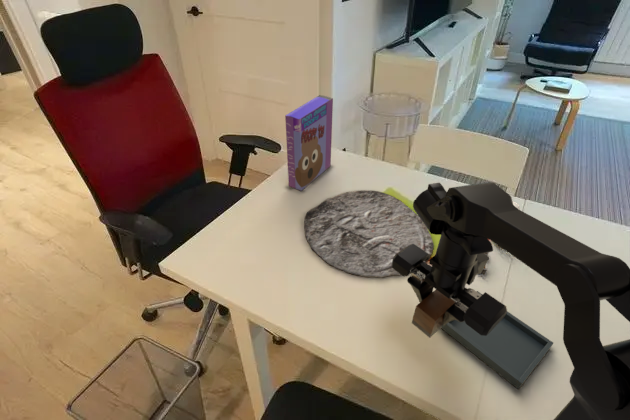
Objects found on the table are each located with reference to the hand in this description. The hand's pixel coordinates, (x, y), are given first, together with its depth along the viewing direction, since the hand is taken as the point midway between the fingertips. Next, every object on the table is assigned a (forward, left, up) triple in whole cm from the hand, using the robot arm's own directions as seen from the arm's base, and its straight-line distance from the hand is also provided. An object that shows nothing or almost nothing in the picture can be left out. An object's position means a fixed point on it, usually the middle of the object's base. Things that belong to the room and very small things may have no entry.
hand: (434, 315), depth 67 cm
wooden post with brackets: (+5, -30, -11) cm, 32 cm away
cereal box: (+62, -21, -11) cm, 66 cm away
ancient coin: (+31, -17, -11) cm, 37 cm away
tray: (-8, -13, -11) cm, 18 cm away
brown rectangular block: (0, 0, -1) cm, 1 cm away
